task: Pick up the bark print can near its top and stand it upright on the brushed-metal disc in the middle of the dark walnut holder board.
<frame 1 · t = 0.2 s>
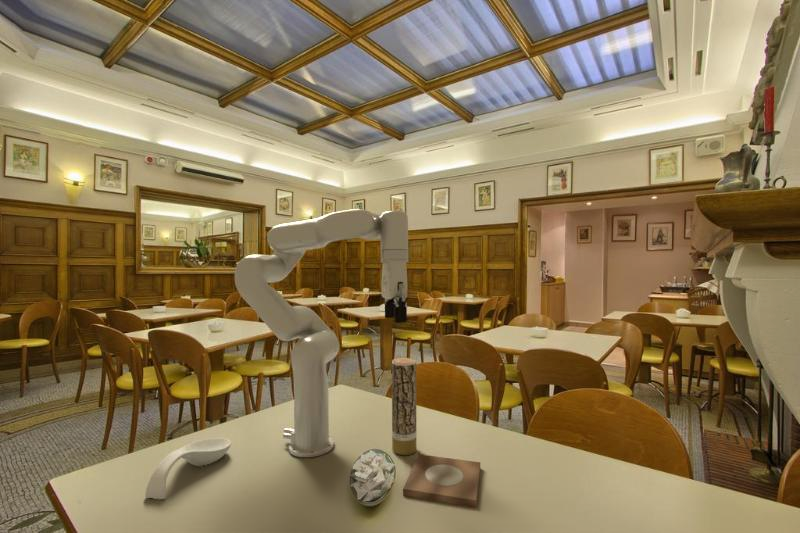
hand: (395, 320, 100), 37 cm above the table, tool pointing down, fingers open, 9 cm apart
holder board: (444, 481, 88), on the table
spoon rest: (191, 472, 93), on the table
bark print can: (404, 451, 103), on the table
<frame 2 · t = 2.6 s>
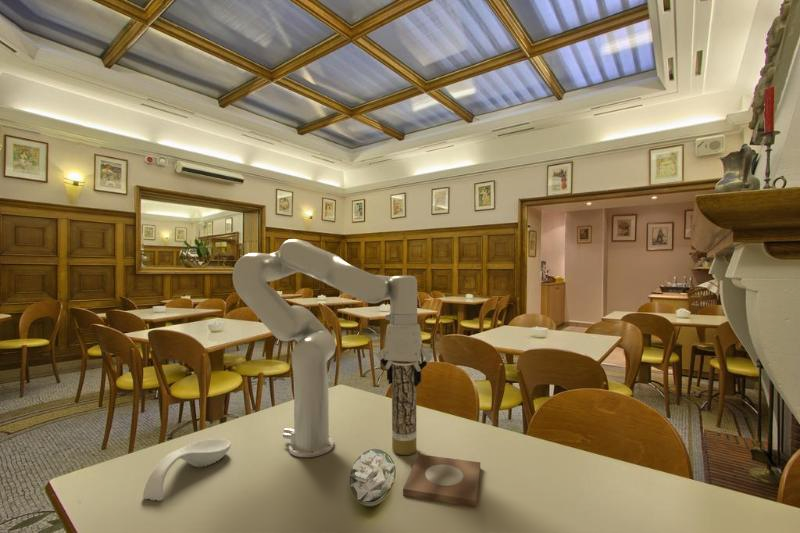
hand: (404, 383, 103), 19 cm above the table, tool pointing down, fingers closed on bark print can, 6 cm apart
bark print can: (404, 451, 103), on the table, touching gripper
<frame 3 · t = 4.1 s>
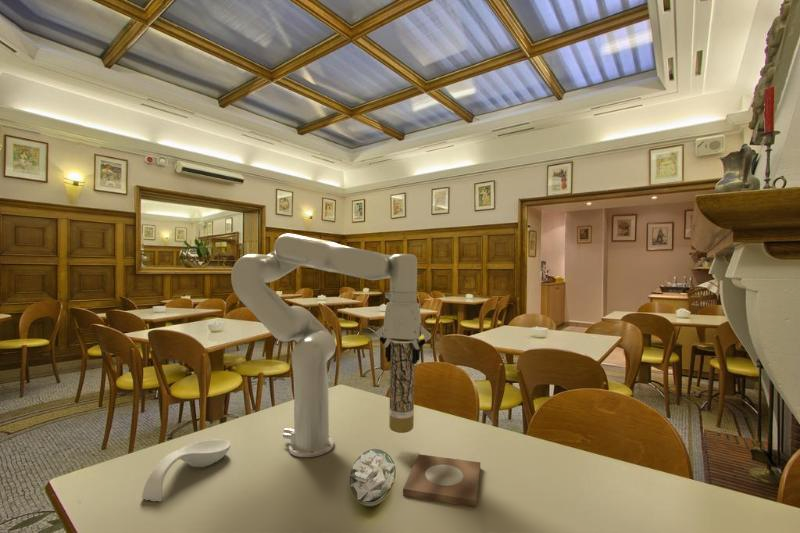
hand: (402, 361, 104), 25 cm above the table, tool pointing down, fingers closed on bark print can, 6 cm apart
bark print can: (401, 429, 103), point 6 cm above the table, touching gripper
everything else where it was.
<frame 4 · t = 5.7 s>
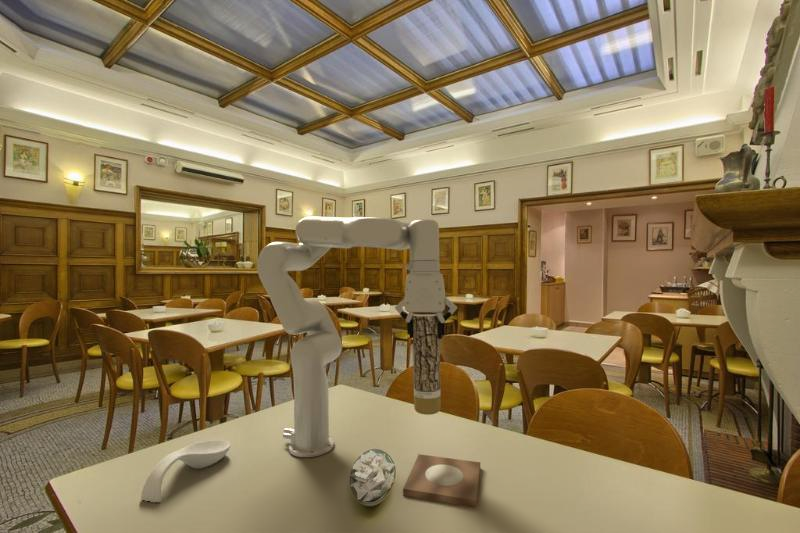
hand: (426, 337, 95), 33 cm above the table, tool pointing down, fingers closed on bark print can, 6 cm apart
bark print can: (427, 411, 95), point 14 cm above the table, touching gripper
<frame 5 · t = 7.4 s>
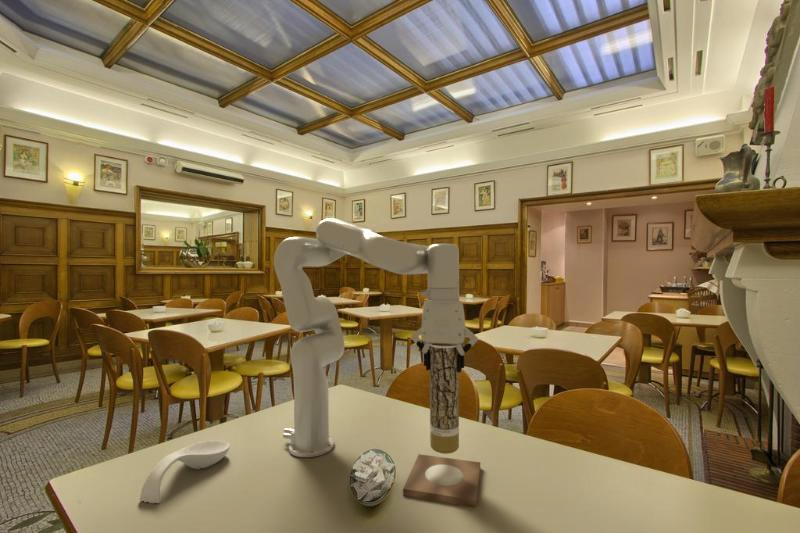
hand: (444, 369, 88), 27 cm above the table, tool pointing down, fingers closed on bark print can, 6 cm apart
bark print can: (444, 448, 88), point 8 cm above the table, touching gripper
when the fingers open (21 cm above the table, at t = 8.9 s): bark print can stays where it is, resting on holder board.
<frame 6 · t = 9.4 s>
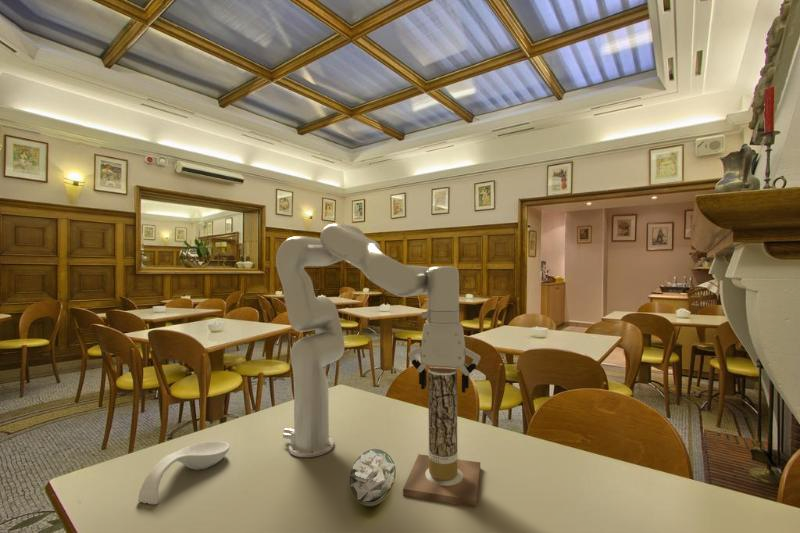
hand: (443, 389, 88), 22 cm above the table, tool pointing down, fingers open, 9 cm apart
bark print can: (443, 474, 88), point 1 cm above the table, touching holder board
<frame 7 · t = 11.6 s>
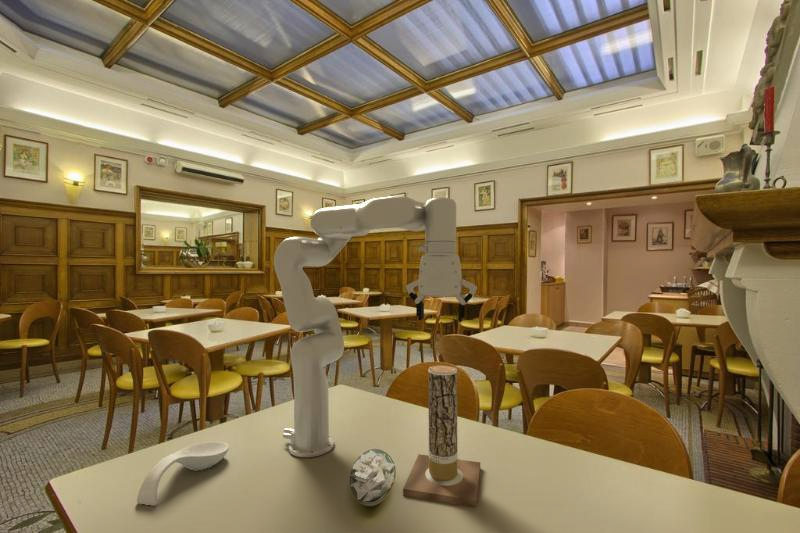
hand: (440, 320, 90), 38 cm above the table, tool pointing down, fingers open, 9 cm apart
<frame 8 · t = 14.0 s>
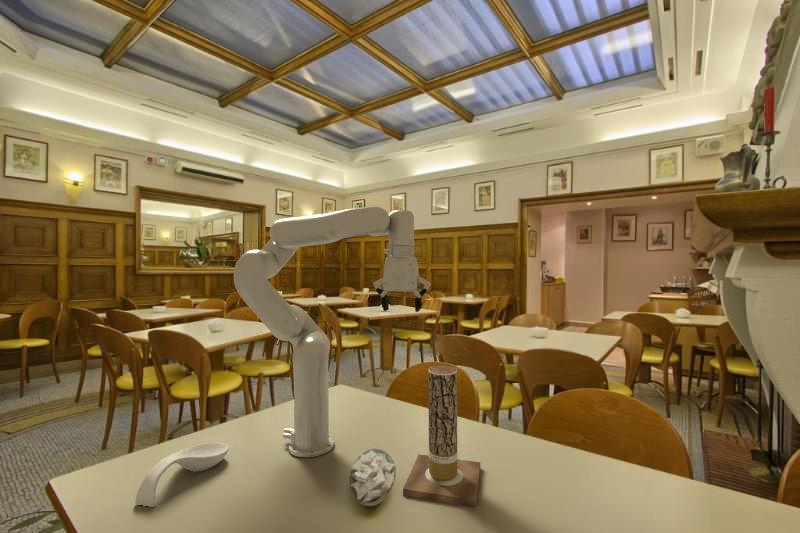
hand: (401, 310, 109), 38 cm above the table, tool pointing down, fingers open, 9 cm apart
at the end: bark print can inside the target area on the holder board (0.2 cm from its centre), point 1.4 cm above the holder board's base; bark print can tilted 0°; the gripper is holding nothing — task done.
